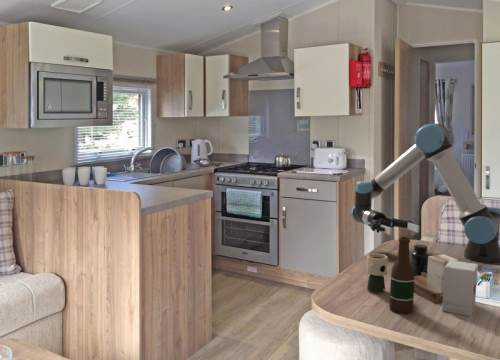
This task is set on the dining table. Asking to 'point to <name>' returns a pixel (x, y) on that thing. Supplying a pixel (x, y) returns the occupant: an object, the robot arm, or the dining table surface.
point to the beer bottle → (402, 280)
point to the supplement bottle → (419, 259)
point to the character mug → (376, 271)
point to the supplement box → (460, 287)
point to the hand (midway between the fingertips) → (404, 230)
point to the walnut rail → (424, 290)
